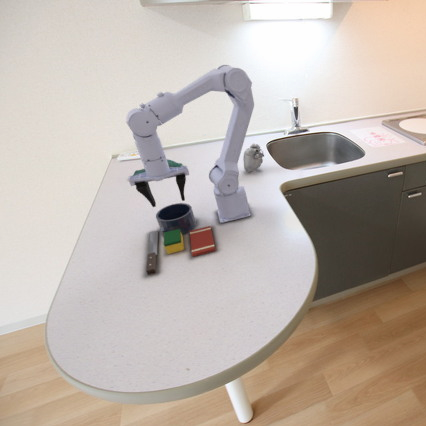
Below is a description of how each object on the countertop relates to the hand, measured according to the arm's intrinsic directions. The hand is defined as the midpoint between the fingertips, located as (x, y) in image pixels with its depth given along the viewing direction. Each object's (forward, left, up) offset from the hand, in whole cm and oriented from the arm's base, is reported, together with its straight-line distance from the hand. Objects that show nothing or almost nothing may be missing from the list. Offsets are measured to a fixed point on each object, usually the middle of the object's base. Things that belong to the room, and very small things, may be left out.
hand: (169, 202), depth 88 cm
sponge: (+1, +7, -10) cm, 12 cm away
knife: (+7, +6, -10) cm, 14 cm away
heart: (-30, -34, -11) cm, 47 cm away
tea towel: (-6, +8, -10) cm, 14 cm away
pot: (0, -3, -10) cm, 11 cm away
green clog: (+7, -51, -11) cm, 53 cm away
